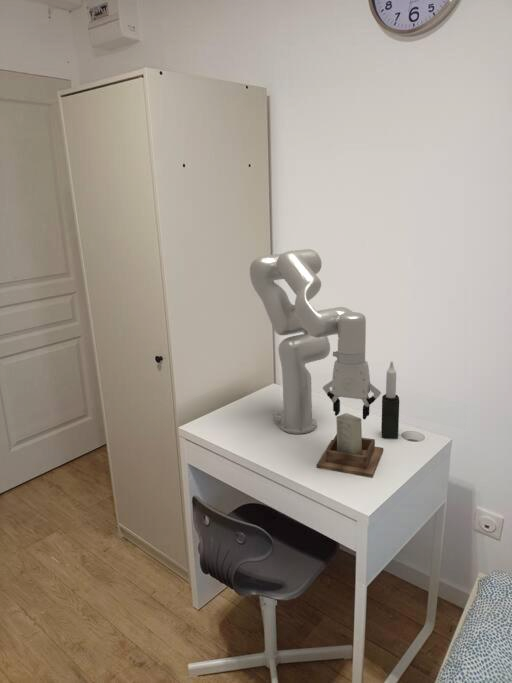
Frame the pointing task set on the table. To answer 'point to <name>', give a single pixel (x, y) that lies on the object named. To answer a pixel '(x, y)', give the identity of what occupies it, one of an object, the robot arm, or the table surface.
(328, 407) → the table surface
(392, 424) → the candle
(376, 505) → the table surface
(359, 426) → the skincare box
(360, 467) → the tray
